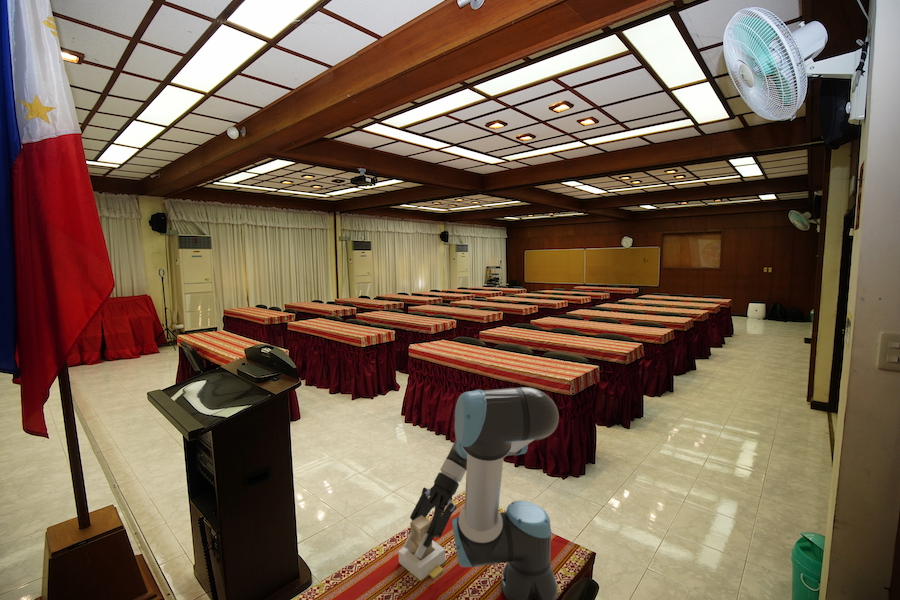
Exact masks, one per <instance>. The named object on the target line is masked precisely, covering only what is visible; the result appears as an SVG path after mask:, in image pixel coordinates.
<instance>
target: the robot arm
mask: <svg viewBox="0 0 900 600" xmlns="http://www.w3.org/2000/svg"><path fill="white" fill-rule="evenodd" d="M456 400H457V401H456V404H455V409H454V435H455V436H454V437H455V441H454V442H453V444H452V446H451V448H450V451H449V452H448V454H447V456H446V458H445V460H444V462H443V463H442V465H441V467H440V472H438V473H437V476H436V477H435V479H434V481H433V482H434V483H433V486H431V487H430V488H427V487H423V488H422V490H421V495H420V497H419V499H418V501H417V502H416V504H415V506H414V509H413V511H412V512H411V513H410V516H409V519H411V522H412V521H413V520H415V519H416V518H418V517H420V516H421V515H422V516H423V517H425V518H427V516H428V515H429V514H430V512H431V511H432V509H434V512H433V516H432V519H431V525H430V528H429V532H428V531H427V533H425V535H424V537H423V539H422V541H421V543H420V545H419V547H418V549H417V551H416V553H415V556H416V557H418V558H420V559H421V558H422V556H423V554H424V552H425V550H426V548H429V546H430V544H431V542H432V540H433V541H434V538H438V539H440V538H441V537H442V536H443V533H444V531H445V529H446V527H447V525H448V524H449V523H448V522H449V521H450V519H451V517H452V516H453V515H452V514H453V513H454V512H455V511H456V510H457V505H455V504H454V502H453V496H454V495H456V493H457V490H458V489H459V486H460V484H459V483H460V482H462V480H463V477H464V476H465V493H464V496H465V498H464V506H463V507H462V509H461V510H460V512H459V515H458V516H456V517H453V518H452V520H451V523H452V524H451V525H452V531H453V537H454V538H453V539H454V542H455V544H454V545H455V549H456V555H457V557H456V558H457V561H458V564H459V566H460V567H461V568H475V567H476V568H477V567H481V566H488V565H489V566H491V565H495V564H496V565H497V564H503V563H506V564H505V565H504V569H503V571H502V575H501V590H502V593H503V595H504V597H505V599H506V600H557V598H558V582H557V578H556V576H555V574H554V571H553V567H552V563H551V562H552V560H551V557H552V554H551V551H552V549H551V548H552V547H551V545H552V544H551V543H552V540H551V539H552V536H551V535H552V529H551V520H550V516H549V514H548V513H547V511H546V510H545V509H544V508H543V507H541V506H540V505H538V504H536V503H534V502H532V501H528V500H515V501H513V502H510V503H509V504H508V506H507V508H506V511H504V512H500V510H499V507H500V497H501V496H500V495H501V487H502V486H501V485H502V476H503V465H504V458H506V457H507V456H520V455H524V454H526V453H527V452H528V448H529V447H528V446H529V444H530V443H532V442H533V441H540V440H544V439H546V438H548V437H549V436H551V435H552V434H553V433H554V432H555V431H556V429H557V428H558V425H559V421H560V420H559V419H560V416H559V415H560V414H559V409H558V406H557V405H556V403H555V401H554V400H553V399H552V398H551V397H550V396H549V395H547V394H546V393H545V392H543V391H541V390H539V389H537V388H534V387H527V386H522V387H521V386H520V387H507V388H497V389H495V388H494V389H486V390H485V389H483V390H482V389H475V390H471V391H465V392H463V393H461V394H460V395H459V397H458V399H456ZM465 474H466V475H465ZM407 535H408V536H407V538H406V540H405V542H404V543H403V545H402V548H403V547H405V548H407V549H409V550H410V549H411V528H410V529H409V530H408V534H407Z"/></svg>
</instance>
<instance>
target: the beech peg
mask: <svg viewBox="0 0 900 600" xmlns="http://www.w3.org/2000/svg"><path fill="white" fill-rule="evenodd" d="M431 522H432V520H430V519H428V518H427V517H423V516H422V515H421V516H420V517H418V518H416V519H415V520H413V521H412V520H411V521H410V523H409V524H410V528H411V552H412V554H413V555H414V556H415V553H416V551H417V549H418V547H419V545H420V543H421V541H422V539H423V537H424V535H425V533H427V531H428V532H429V528H430V525H431ZM430 553H432V542H431V544H430V546H429V548H426V550H425V552H424V554H423V556H422V558H421V559H420V558H418V557H417V558H418V559H419V560H422V559H424V558H425V557H426V556H428V555H429V554H430Z"/></svg>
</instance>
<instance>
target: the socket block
mask: <svg viewBox="0 0 900 600" xmlns="http://www.w3.org/2000/svg"><path fill="white" fill-rule="evenodd" d="M445 562H446V548H444V547H443V546H441V545H440V544H439V543H437V542H436V541H434V539H433V540H432V553H430V554H429V555H428V556H426V557H425V558H424V559H422V560H419V559H418V558H417V557H416V556H414V555H413V554H412V552H411V549H410V550H409V549H407V548H405V547H403V546H402V548H400V549H399V550H398V563H399V564H400V565H401V566H402V567H403V568H404V569H406V570H407V571H408V572H409V573H411V574H412V575H413V576H414V577H416V578H417V579H418V580H419V581H420V582H421V581H422V580H424V579H425V578H427V577H430V578H431V579H435V578H436V577H438V576H440V574H441V573H443V572H444V571H445V570H444V568H443V567H441V566H442V565H443V564H445Z"/></svg>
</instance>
